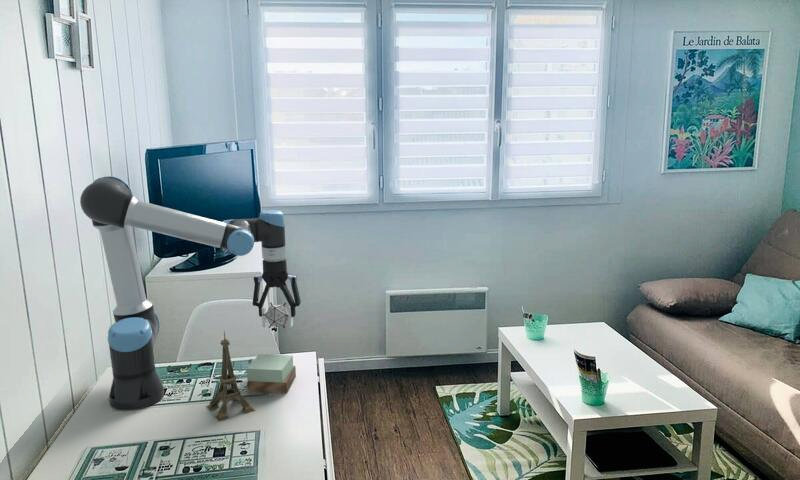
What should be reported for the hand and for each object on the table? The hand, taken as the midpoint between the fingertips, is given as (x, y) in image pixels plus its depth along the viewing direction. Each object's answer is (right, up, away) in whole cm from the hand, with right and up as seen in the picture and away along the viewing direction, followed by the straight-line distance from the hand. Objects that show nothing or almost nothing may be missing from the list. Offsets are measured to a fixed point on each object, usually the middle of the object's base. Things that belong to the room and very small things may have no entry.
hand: (277, 325), depth 214 cm
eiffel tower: (-9, -21, -26) cm, 35 cm away
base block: (0, -17, -11) cm, 21 cm away
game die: (0, 0, 0) cm, 1 cm away
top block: (0, -13, -12) cm, 18 cm away
